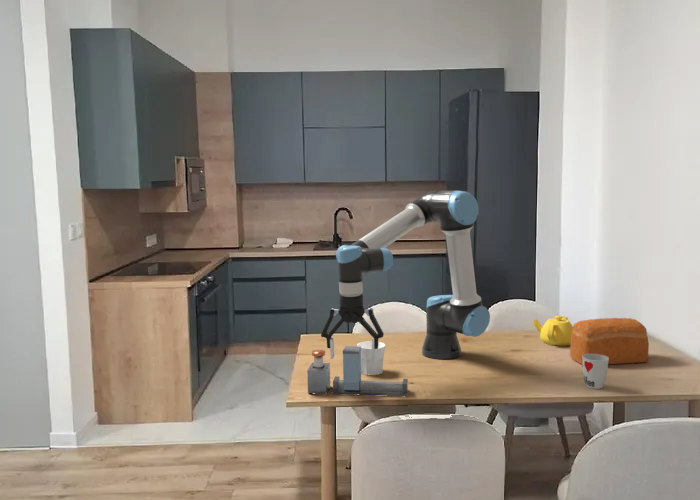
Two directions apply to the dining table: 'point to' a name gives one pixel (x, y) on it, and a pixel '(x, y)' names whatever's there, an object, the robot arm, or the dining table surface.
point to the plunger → (318, 358)
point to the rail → (367, 392)
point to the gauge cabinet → (319, 379)
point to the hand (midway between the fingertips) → (353, 358)
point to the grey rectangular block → (351, 367)
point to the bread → (610, 340)
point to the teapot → (555, 331)
